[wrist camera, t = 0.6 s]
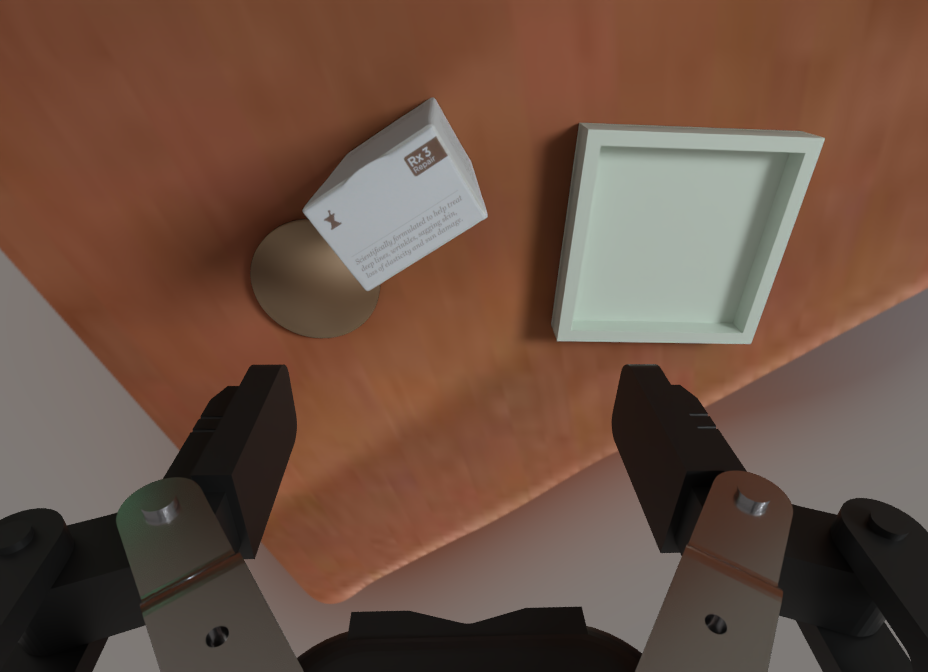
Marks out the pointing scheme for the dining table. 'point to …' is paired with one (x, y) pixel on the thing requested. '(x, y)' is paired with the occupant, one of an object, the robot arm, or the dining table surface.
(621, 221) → the tray
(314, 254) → the coaster
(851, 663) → the robot arm
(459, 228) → the skincare box
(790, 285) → the dining table surface
